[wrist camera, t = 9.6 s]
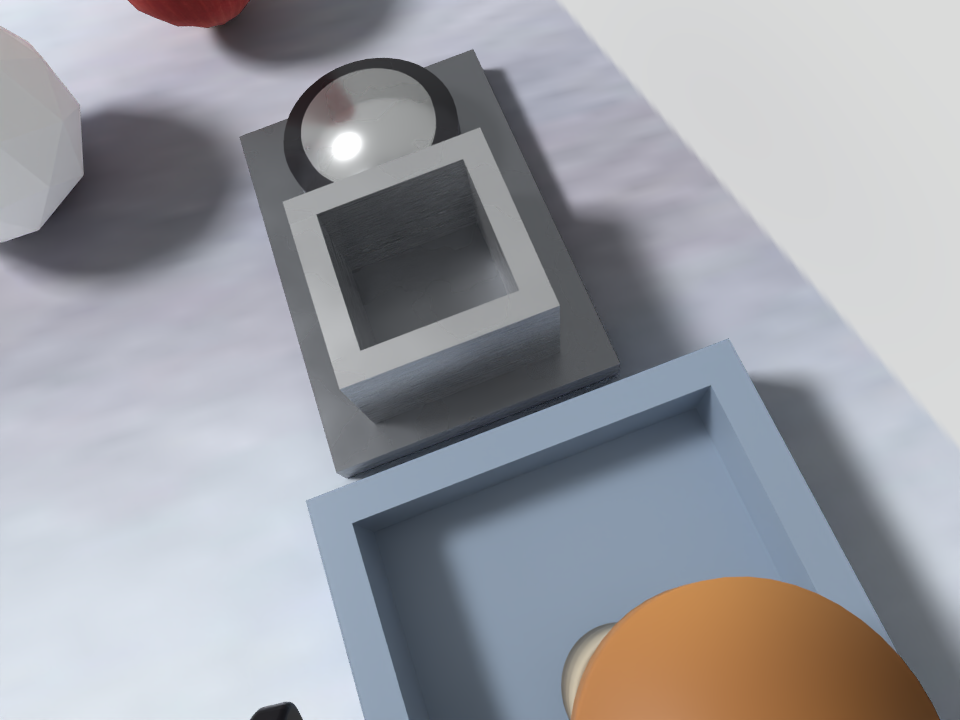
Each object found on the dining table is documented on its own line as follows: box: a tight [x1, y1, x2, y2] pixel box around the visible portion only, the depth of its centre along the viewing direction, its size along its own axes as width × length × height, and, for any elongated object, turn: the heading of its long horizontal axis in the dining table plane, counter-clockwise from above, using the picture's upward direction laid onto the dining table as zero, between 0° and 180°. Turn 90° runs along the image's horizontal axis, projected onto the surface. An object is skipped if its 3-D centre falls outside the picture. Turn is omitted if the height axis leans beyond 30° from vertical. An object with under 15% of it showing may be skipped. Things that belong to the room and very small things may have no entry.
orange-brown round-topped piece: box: [561, 577, 940, 720], centre depth 13 cm, size 4×4×11 cm
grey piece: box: [240, 49, 620, 478], centre depth 22 cm, size 13×9×4 cm
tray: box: [306, 338, 899, 720], centre depth 18 cm, size 14×12×3 cm
